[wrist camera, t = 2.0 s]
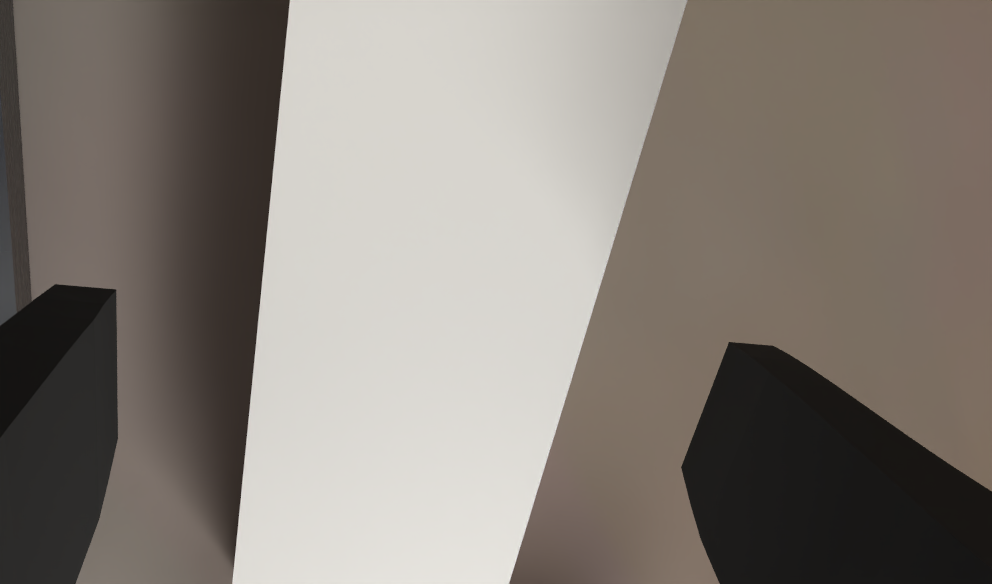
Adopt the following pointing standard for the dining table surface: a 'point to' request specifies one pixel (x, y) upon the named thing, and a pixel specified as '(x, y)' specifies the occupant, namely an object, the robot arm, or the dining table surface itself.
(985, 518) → the robot arm
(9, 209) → the cup brackets
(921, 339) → the dining table surface
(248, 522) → the rail
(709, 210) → the dining table surface
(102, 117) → the dining table surface
